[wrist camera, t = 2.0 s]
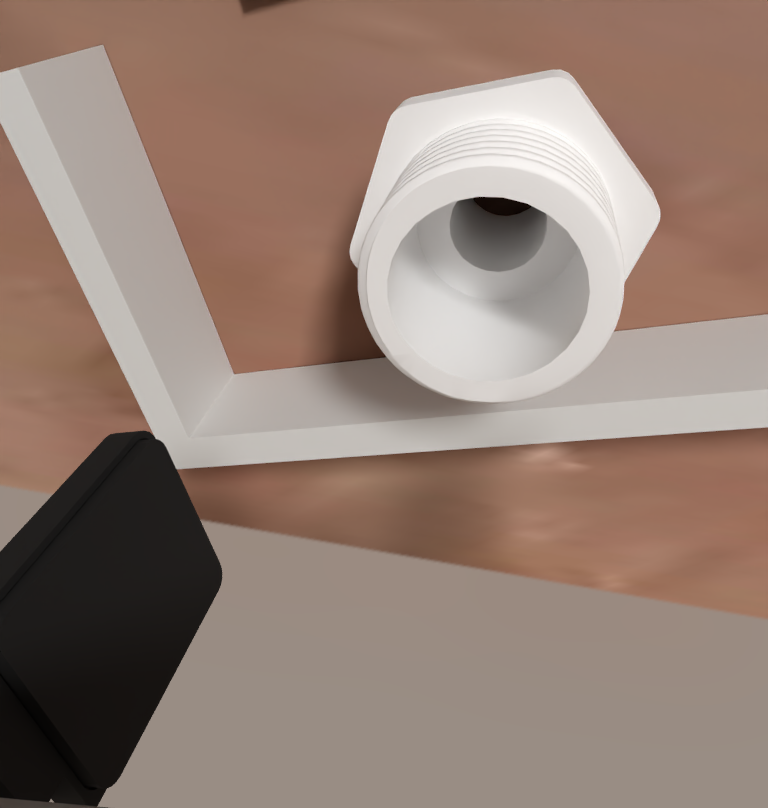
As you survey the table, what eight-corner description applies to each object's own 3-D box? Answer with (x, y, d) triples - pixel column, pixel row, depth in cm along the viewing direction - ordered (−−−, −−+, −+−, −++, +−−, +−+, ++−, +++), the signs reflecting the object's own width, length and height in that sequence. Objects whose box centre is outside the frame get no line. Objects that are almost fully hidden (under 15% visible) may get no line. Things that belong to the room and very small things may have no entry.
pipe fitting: (676, 89, 18) (745, 183, 12) (554, 318, 22) (555, 479, 16) (447, 0, 18) (388, 43, 12) (367, 246, 22) (292, 380, 16)
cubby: (68, 54, 21) (-21, 78, 17) (1078, -227, 14) (1239, -273, 11) (216, 404, 27) (171, 469, 24) (960, 329, 20) (1038, 407, 17)
